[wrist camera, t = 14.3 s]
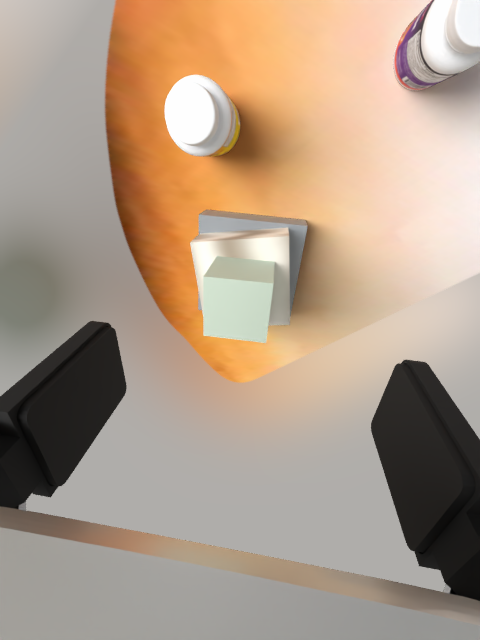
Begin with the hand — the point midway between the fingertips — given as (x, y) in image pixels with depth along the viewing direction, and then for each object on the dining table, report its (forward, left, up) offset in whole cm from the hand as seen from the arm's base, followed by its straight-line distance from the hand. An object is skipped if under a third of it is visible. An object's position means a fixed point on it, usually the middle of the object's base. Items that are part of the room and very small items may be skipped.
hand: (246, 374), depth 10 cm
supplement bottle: (+7, -9, -29) cm, 31 cm away
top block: (+2, +6, -25) cm, 26 cm away
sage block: (+2, +6, -21) cm, 22 cm away
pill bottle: (-12, -16, -29) cm, 35 cm away
